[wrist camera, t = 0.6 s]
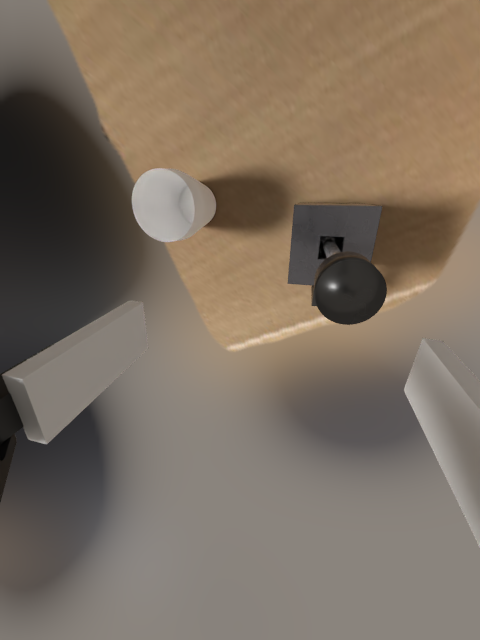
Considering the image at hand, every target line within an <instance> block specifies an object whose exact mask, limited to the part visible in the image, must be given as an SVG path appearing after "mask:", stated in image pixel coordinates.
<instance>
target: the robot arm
mask: <svg viewBox="0 0 480 640" xmlns="http://www.w3.org/2000/svg"><path fill="white" fill-rule="evenodd" d="M148 348H149V347H148V340H147V331H146V323H145V315H144V307H143V302H137V301H128V302H126V303H125V304H123V305H121V306H119V307H118V308H116V309H114V310H113V311H111V312H109V313H107V314H106V315H104V316H102V317H100V318H99V319H97V320H95V321H93V322H92V323H90V324H88V325H87V326H85V327H83V328H81V329H80V330H79V331H76V332H75V333H73V334H72V335H70V336H68V337H66V338H64V339H62V340H61V341H59V342H57V343H56V344H53V345H50V346H48V347H46V348H45V349H43V350H41V351H40V352H38V354H34V355H33V356H31V357H29V358H28V360H27V359H26V360H24V361H22V362H20V363H19V364H17V365H15V366H13V367H12V368H10V369H8V370H7V371H5V372H3V373H1V374H0V502H1V498H2V495H3V491H4V487H5V484H6V480H7V476H8V472H9V469H10V465H11V462H12V458H13V454H14V450H15V447H16V443H17V441H16V436H15V433H16V432H17V431H18V430H20V429H21V428H22V427H24V430H25V433H26V435H27V437H28V439H29V440H32V441H36V442H40V443H44V444H48V442H50V441H51V440H52V439H53V438H54V437H55V436H56V435H57V434H58V433H59V432H60V431H61V430H62V429H63V428H64V427H65V426H66V425H68V424H69V423H70V422H71V421H72V420H73V419H74V418H75V417H76V416H77V415H78V414H79V413H80V412H81V411H82V410H84V409H85V408H86V407H87V406H88V405H89V404H90V403H91V402H92V401H93V400H94V399H95V398H96V397H97V396H98V395H99V394H101V393H102V392H103V391H104V390H105V389H106V388H107V387H108V386H109V385H110V384H111V383H112V382H113V381H114V380H115V379H116V378H117V377H119V376H120V375H121V373H123V372H124V371H125V370H126V369H127V368H128V367H129V366H130V365H131V364H132V363H133V362H134V361H135V360H137V359H138V358H139V357H140V356H141V355H142V354H143V353H144V352H145V351H146V350H147V349H148ZM404 391H405V394H406V396H407V397H408V400H409V402H410V404H411V406H412V408H413V410H414V412H415V414H416V416H417V418H418V420H419V423H420V424H421V427H422V429H423V431H424V433H425V435H426V437H427V439H428V441H429V443H430V445H431V447H432V449H433V452H434V453H435V456H436V458H437V460H438V462H439V464H440V466H441V468H442V470H443V472H444V474H445V476H446V478H447V481H448V482H449V485H450V487H451V489H452V491H453V493H454V495H455V497H456V499H457V501H458V503H459V505H460V507H461V510H462V512H463V513H464V516H465V518H466V520H467V522H468V524H469V526H470V528H471V530H472V532H473V534H474V536H475V538H476V541H477V542H478V545H479V547H480V381H479V380H478V378H477V377H476V376H475V375H474V374H473V373H472V372H471V371H470V370H469V369H468V368H467V367H466V365H465V364H464V363H463V362H462V361H461V360H460V359H459V358H458V357H457V356H456V355H455V353H454V352H453V351H452V350H451V349H450V348H449V347H448V346H447V345H446V344H445V342H444V341H440V340H433V339H425V338H423V339H422V342H421V344H420V347H419V350H418V353H417V355H416V358H415V361H414V363H413V366H412V369H411V372H410V374H409V377H408V380H407V383H406V385H405V388H404Z"/></svg>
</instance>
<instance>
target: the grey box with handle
mask: <svg viewBox="0 0 480 640" xmlns="http://www.w3.org/2000/svg"><path fill="white" fill-rule="evenodd" d="M381 211H382V206H378V205H369V204H356V203H297V204H295V205H294V214H293V226H292V238H291V250H290V262H289V275H288V284H300V285H312V287H311V293H312V306H317V304H316V301H315V288H314V278H315V274H316V271H317V269H318V267H319V266H320V264H321V263H322V262H323V261H324V260H325V259H326V258H318V252H319V244H320V236H333V237H343V244H342V250H341V252H345V251H350V252H356V253H359V254H361V255H363V256H365V257H366V258H367V259H368V260H369V261H370V262H371V259H372V254H373V249H374V244H375V240H376V235H377V230H378V225H379V220H380V215H381Z"/></svg>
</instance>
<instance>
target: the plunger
mask: <svg viewBox="0 0 480 640" xmlns="http://www.w3.org/2000/svg"><path fill="white" fill-rule="evenodd" d="M342 244H343V237H333V236H320V244H319V252H318V258H326V259H325V260H324V261H323V262H322V263H321V264H320V266H319V267H318V269H317V271H316V274H315V278H314V288H315V301H316V304H317V307H318V309H319V310H320V312H321V313H322V314H323V315H324V316H325V317H326V318H328V319H329V320H331V321H333V322H335V323H339V324H347V325H350V324H357V323H360V322H363V321H366V320H367V319H369V318H371V317H372V316H374V315H375V314H376V313H377V312H378V311H379V310H380V308H381V307H382V305H383V303H384V301H385V298H386V293H387V288H386V283H385V280H384V277H383V276H382V274H381V273H380V272H379V271H378V269H377V268H376V267H375V266H374V265H373V264H372V263H371V262H370V261H369V260H368V259H367V258H366V257H365V256H363V255H361V254H359V253H356V252H350V251H345V252H341V250H342Z"/></svg>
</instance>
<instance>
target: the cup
mask: <svg viewBox="0 0 480 640" xmlns="http://www.w3.org/2000/svg"><path fill="white" fill-rule="evenodd" d="M132 207H133V212H134V215H135V218H136V220H137V222H138V224H139V225H140V227H141V228H142V229H143V231H144V232H145V233H147V234H148V235H149V236H150V237H152V238H154V239H156V240H159V241H162V242H173V241H179V240H184V239H187V238H189V237H191V236H192V235H194V234H195V233H196V232H197V231H199V230H200V229H201V228H202V227H204V226H205V225H206V224H207V223H209V222H210V221H211V220H212V218H213V217H214V215H215V211H216V200H215V197H214V195H213V193H212V191H211V190H210V189H209V188H208V187H207V186H206V185H204V184H202V183H201V182H199V181H197V180H196V179H194V178H193V177H191V176H189V175H188V174H186V173H184V172H182V171H179V170H176V169H163V168H156V169H151V170H149V171H147V172H145V173H144V174H142V175H141V176H140V178H139V179H138V180H137V182H136V184H135V186H134V189H133V193H132Z"/></svg>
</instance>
